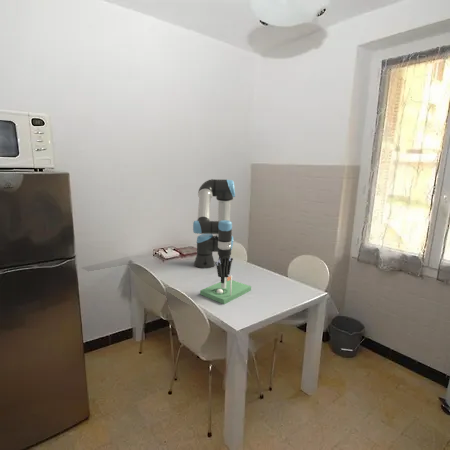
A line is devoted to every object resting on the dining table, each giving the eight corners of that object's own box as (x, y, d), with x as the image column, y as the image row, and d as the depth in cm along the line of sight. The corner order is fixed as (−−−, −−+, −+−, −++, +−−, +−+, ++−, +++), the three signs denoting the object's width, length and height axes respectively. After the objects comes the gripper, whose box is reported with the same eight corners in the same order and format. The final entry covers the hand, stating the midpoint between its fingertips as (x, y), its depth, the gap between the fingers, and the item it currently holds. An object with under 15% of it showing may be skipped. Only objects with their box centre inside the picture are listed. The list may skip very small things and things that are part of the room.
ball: (216, 296, 170) (213, 292, 167) (220, 290, 172) (217, 286, 169) (221, 298, 167) (219, 294, 165) (225, 292, 169) (222, 288, 167)
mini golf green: (227, 282, 188) (228, 261, 185) (251, 290, 177) (252, 267, 174) (200, 294, 169) (200, 271, 167) (224, 304, 158) (224, 279, 155)
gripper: (222, 251, 159) (221, 293, 163) (236, 247, 168) (235, 286, 173) (211, 249, 163) (211, 289, 168) (226, 244, 173) (225, 282, 178)
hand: (223, 287), depth 170 cm, fingers closed
